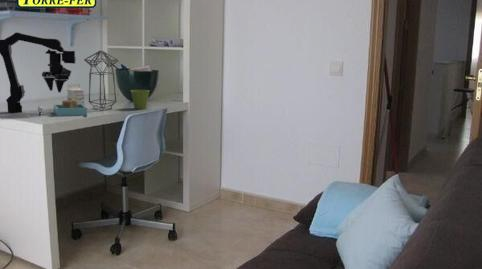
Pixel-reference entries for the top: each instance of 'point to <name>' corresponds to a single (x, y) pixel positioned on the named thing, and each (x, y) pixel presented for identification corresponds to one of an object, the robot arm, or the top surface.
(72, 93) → the ink cartridge box
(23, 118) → the top surface
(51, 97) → the top surface
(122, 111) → the top surface
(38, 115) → the stud plate
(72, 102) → the taped shipping carton
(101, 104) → the geometric lantern
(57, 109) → the bin
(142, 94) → the plant pot
